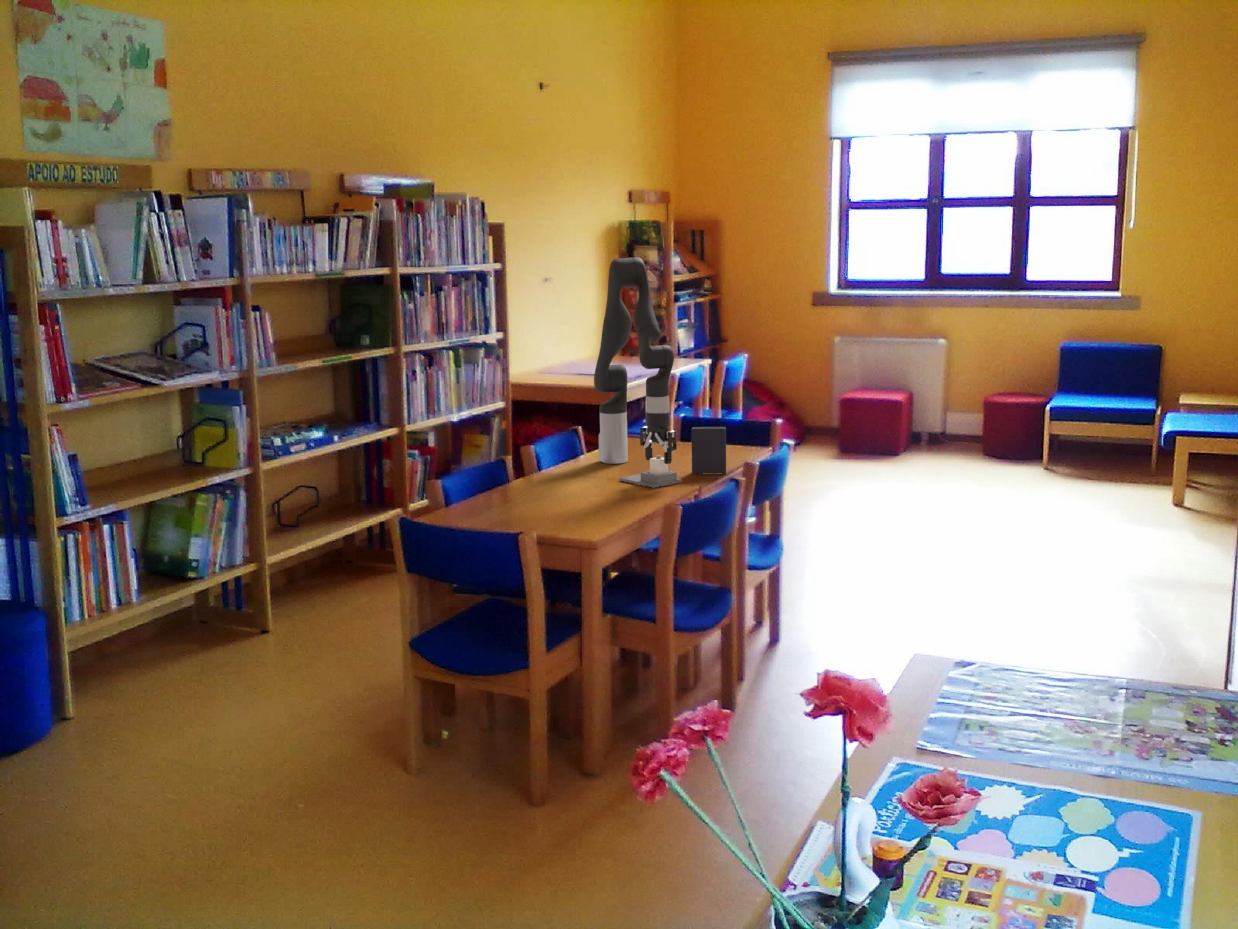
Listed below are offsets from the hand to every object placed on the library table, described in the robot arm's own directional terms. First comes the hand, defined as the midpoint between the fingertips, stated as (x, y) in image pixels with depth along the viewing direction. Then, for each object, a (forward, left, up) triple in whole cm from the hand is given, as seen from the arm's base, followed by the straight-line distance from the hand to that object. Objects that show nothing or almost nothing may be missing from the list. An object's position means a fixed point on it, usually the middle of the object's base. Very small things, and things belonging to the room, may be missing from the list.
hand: (658, 461), depth 373 cm
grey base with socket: (-4, 0, -7) cm, 8 cm away
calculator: (0, +22, -7) cm, 23 cm away
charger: (0, 0, -6) cm, 6 cm away
